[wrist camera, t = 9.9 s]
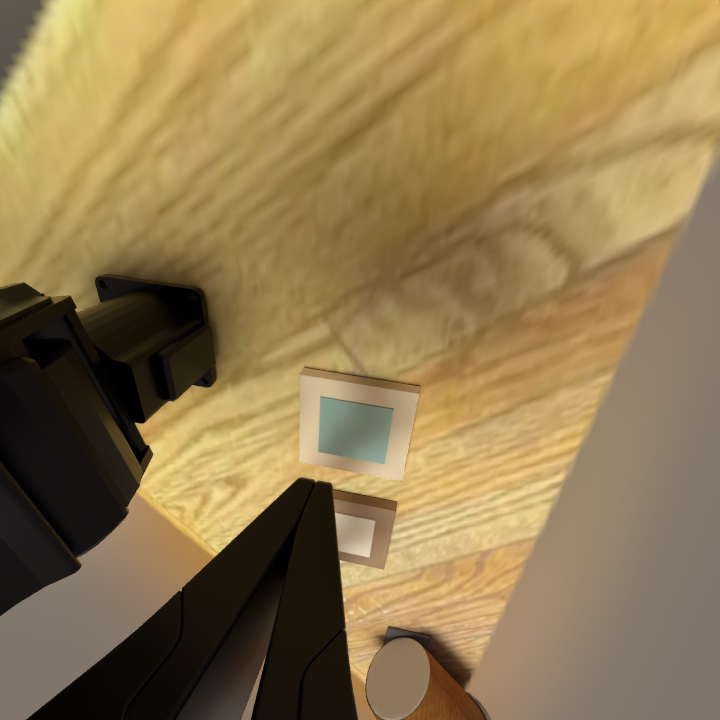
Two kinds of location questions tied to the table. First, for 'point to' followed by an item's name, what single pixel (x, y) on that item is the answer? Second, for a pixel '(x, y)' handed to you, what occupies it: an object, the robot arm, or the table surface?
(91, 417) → the robot arm
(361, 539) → the walnut marker tile
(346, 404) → the birch marker tile
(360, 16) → the table surface
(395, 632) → the black coaster
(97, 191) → the table surface
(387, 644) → the disposable coffee cup
